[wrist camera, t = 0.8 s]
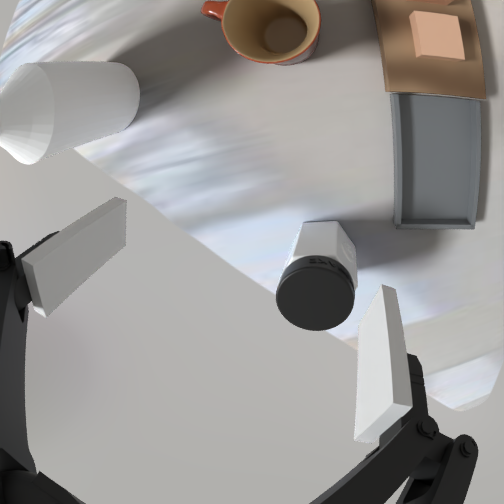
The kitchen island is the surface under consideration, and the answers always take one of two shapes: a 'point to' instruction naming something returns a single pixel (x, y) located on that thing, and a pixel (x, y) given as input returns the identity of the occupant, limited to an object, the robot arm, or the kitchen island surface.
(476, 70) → the board
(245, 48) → the mug
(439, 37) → the tile
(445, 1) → the tile
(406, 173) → the tray
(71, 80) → the bottle
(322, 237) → the jar
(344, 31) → the kitchen island surface
